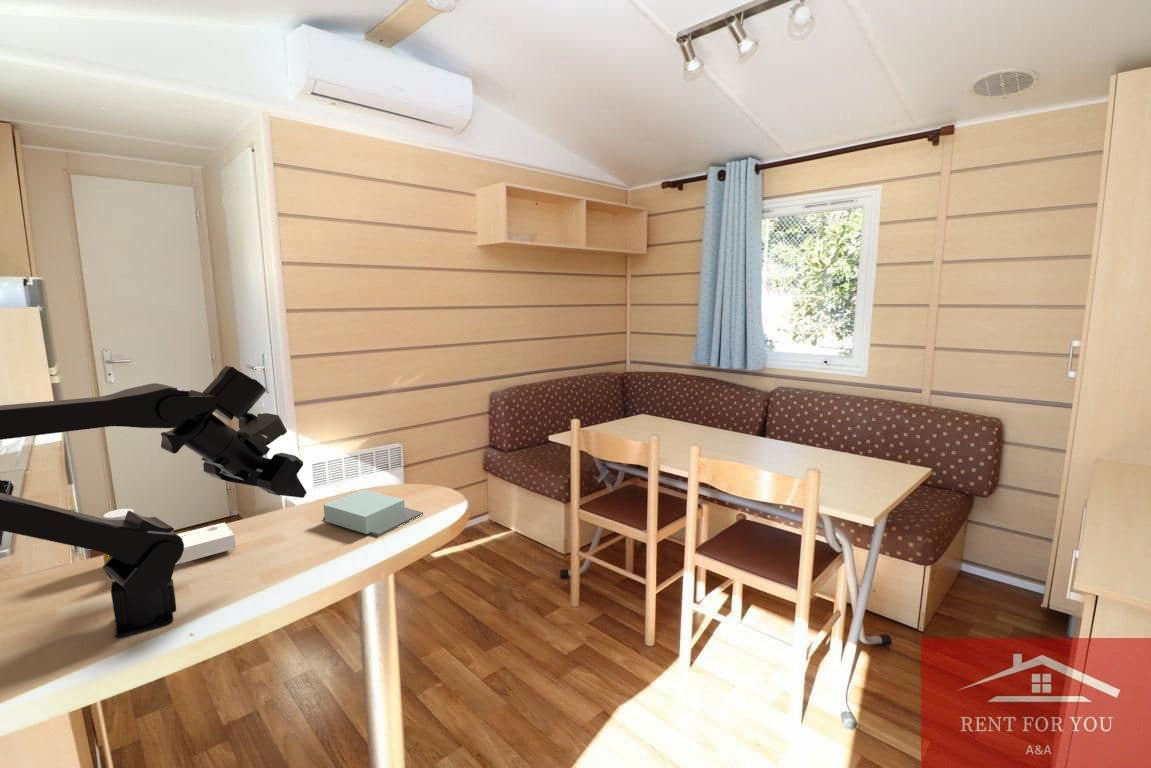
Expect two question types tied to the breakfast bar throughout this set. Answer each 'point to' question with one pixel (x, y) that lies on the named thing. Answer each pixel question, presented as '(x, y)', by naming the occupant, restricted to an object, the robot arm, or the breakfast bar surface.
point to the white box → (206, 542)
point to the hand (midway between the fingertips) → (287, 490)
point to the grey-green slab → (364, 511)
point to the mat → (396, 522)
